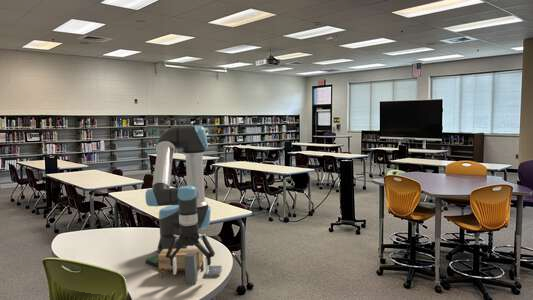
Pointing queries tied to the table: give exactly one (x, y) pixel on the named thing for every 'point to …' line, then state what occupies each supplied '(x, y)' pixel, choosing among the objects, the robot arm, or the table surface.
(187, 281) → the grey rectangular block
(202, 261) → the cabinet
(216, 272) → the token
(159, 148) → the robot arm
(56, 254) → the table surface
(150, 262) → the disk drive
